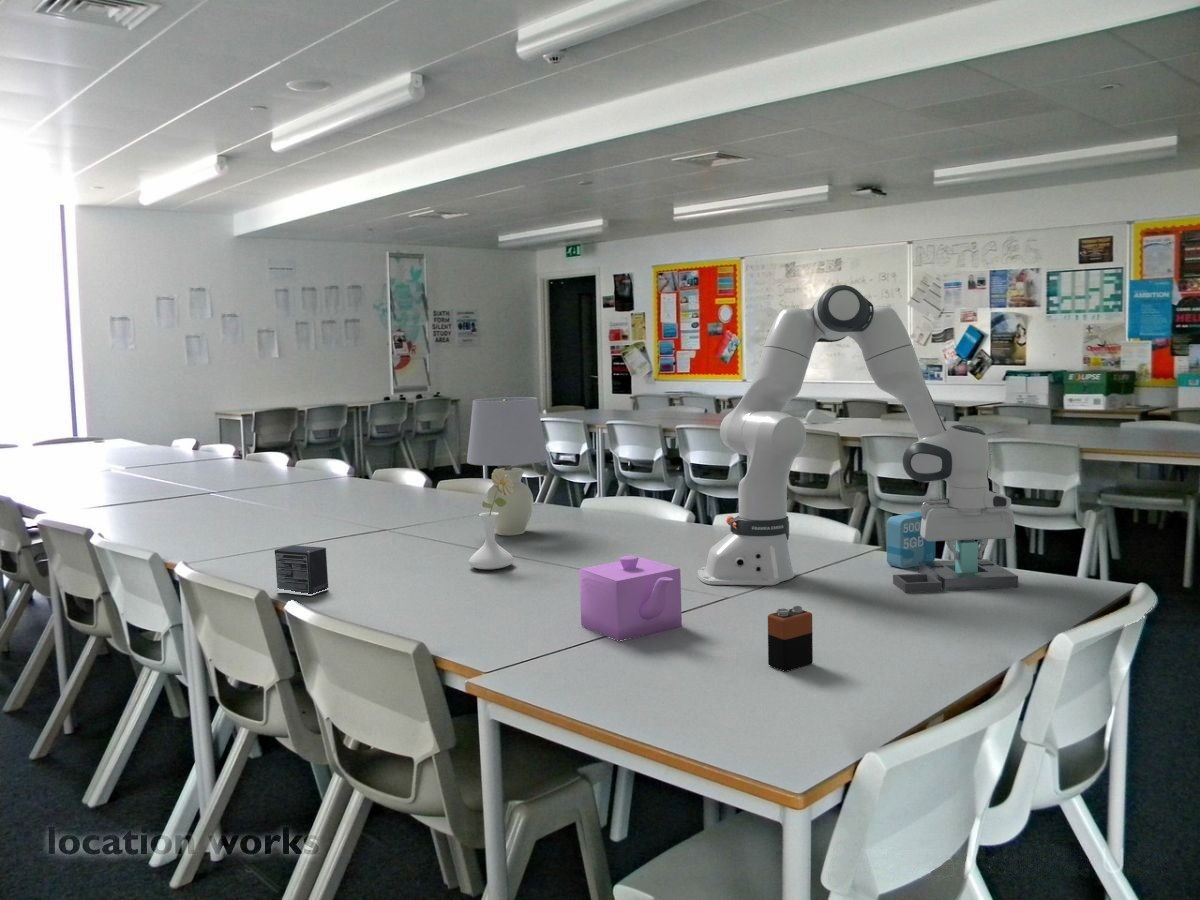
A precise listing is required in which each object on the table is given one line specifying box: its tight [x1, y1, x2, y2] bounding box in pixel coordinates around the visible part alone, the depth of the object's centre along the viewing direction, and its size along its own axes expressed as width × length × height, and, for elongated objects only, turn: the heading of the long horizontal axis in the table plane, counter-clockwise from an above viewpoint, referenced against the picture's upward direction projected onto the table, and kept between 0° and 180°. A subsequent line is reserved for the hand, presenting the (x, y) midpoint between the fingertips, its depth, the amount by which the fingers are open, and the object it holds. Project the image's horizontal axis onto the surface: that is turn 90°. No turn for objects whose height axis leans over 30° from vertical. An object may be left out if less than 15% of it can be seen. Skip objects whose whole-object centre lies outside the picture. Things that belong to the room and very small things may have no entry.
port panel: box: [918, 558, 1019, 591], centre depth 213 cm, size 16×16×3 cm
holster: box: [892, 573, 943, 594], centre depth 208 cm, size 8×8×2 cm
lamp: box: [466, 396, 549, 537], centre depth 281 cm, size 24×24×40 cm
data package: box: [886, 511, 936, 569], centre depth 228 cm, size 12×4×12 cm, turn 120°
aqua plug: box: [955, 540, 979, 573], centre depth 213 cm, size 4×4×9 cm
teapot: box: [578, 555, 683, 642], centre depth 185 cm, size 15×25×14 cm, turn 33°
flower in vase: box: [468, 468, 515, 570], centre depth 239 cm, size 13×11×25 cm
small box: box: [274, 544, 329, 594], centre depth 221 cm, size 11×6×10 cm, turn 65°
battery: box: [767, 605, 814, 672], centre depth 161 cm, size 4×7×10 cm, turn 123°
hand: (966, 558), depth 213 cm, fingers closed on aqua plug, 3 cm apart
